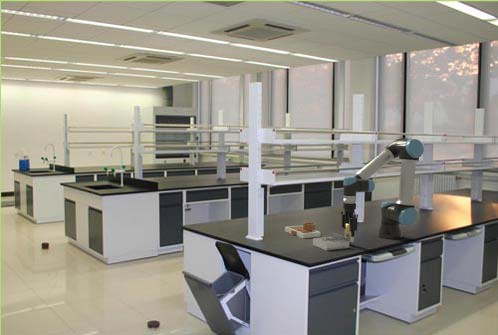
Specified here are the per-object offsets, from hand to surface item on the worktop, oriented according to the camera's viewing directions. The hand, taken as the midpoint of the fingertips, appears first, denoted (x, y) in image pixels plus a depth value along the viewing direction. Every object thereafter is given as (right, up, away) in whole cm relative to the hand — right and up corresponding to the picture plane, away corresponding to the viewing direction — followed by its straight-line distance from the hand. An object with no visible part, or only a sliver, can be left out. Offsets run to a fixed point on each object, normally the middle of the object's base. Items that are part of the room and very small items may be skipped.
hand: (349, 240), depth 266 cm
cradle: (-25, 0, +30) cm, 39 cm away
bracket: (-24, -1, +30) cm, 38 cm away
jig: (-12, -3, -4) cm, 13 cm away
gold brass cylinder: (0, -2, 0) cm, 2 cm away
